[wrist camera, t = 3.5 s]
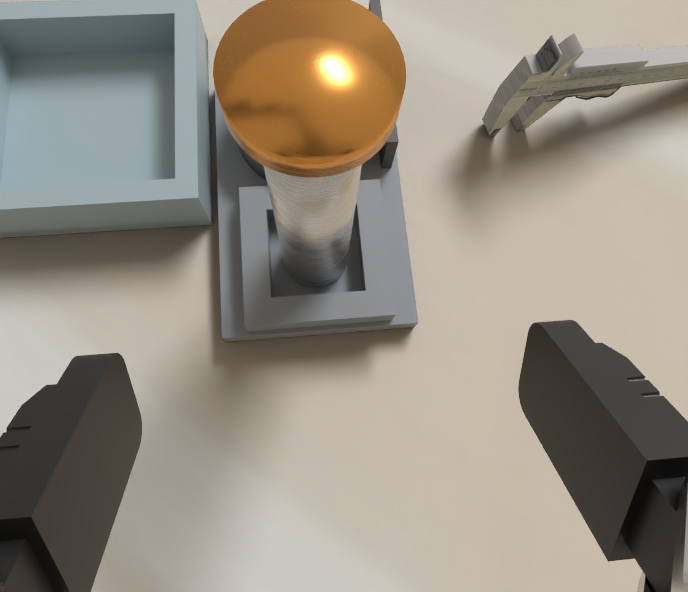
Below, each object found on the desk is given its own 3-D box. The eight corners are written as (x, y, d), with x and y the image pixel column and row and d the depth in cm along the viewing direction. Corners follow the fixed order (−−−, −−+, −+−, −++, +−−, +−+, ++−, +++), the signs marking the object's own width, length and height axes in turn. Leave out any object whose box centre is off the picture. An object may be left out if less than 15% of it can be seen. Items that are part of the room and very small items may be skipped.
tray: (-18, 238, 25) (-63, 213, 22) (1, 49, 28) (-36, 3, 25) (211, 224, 25) (198, 197, 23) (207, 40, 28) (194, -5, 25)
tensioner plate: (225, 341, 24) (207, 324, 20) (217, 55, 28) (200, -5, 24) (414, 326, 25) (431, 307, 21) (379, 48, 29) (388, -12, 25)
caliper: (484, 142, 28) (531, 61, 22) (477, 126, 28) (521, 41, 22) (802, 61, 30) (924, -32, 24) (793, 46, 30) (911, -50, 24)
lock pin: (271, 306, 23) (215, 161, 11) (266, 218, 25) (211, -6, 12) (366, 299, 24) (417, 149, 11) (357, 212, 25) (394, -12, 12)
